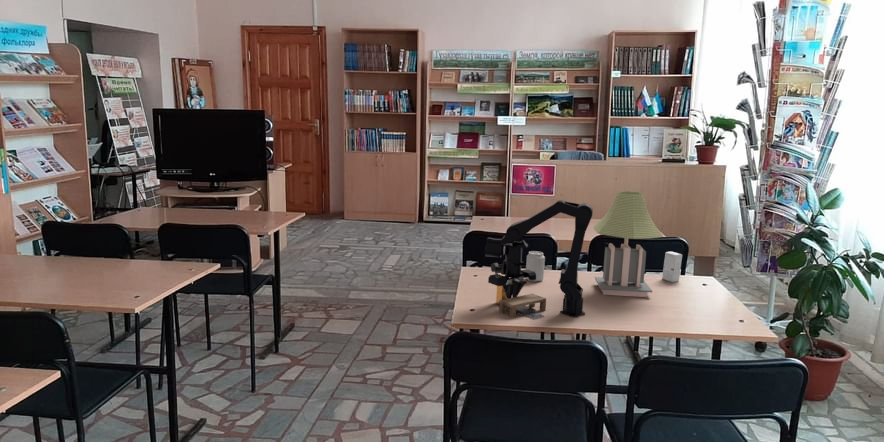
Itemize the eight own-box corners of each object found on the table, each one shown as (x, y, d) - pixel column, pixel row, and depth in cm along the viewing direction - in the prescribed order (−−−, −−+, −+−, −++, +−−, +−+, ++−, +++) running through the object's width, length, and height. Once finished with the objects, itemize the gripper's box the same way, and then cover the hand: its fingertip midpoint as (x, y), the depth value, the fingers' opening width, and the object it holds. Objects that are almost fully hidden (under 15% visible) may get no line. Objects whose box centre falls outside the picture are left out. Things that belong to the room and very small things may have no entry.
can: (523, 280, 269) (524, 252, 267) (529, 276, 276) (530, 249, 273) (539, 283, 266) (541, 255, 263) (545, 279, 272) (547, 252, 270)
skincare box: (661, 278, 279) (664, 251, 277) (668, 277, 281) (671, 251, 279) (672, 282, 274) (675, 254, 272) (680, 281, 276) (682, 254, 274)
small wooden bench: (545, 310, 230) (546, 298, 229) (512, 317, 220) (513, 305, 219) (531, 305, 235) (532, 293, 234) (499, 312, 226) (499, 300, 225)
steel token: (544, 318, 222) (544, 315, 222) (534, 320, 220) (534, 318, 219) (534, 314, 226) (534, 311, 226) (524, 316, 224) (524, 314, 223)
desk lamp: (646, 283, 271) (655, 189, 264) (662, 303, 243) (672, 199, 236) (585, 279, 273) (592, 187, 266) (594, 299, 246) (602, 196, 239)
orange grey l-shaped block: (535, 312, 227) (536, 291, 225) (523, 315, 223) (524, 293, 222) (504, 300, 240) (505, 280, 238) (492, 303, 236) (493, 282, 235)
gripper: (517, 251, 241) (515, 291, 244) (479, 256, 230) (477, 298, 233) (538, 257, 232) (535, 298, 235) (499, 263, 221) (497, 306, 224)
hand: (511, 300), depth 232 cm, fingers closed
